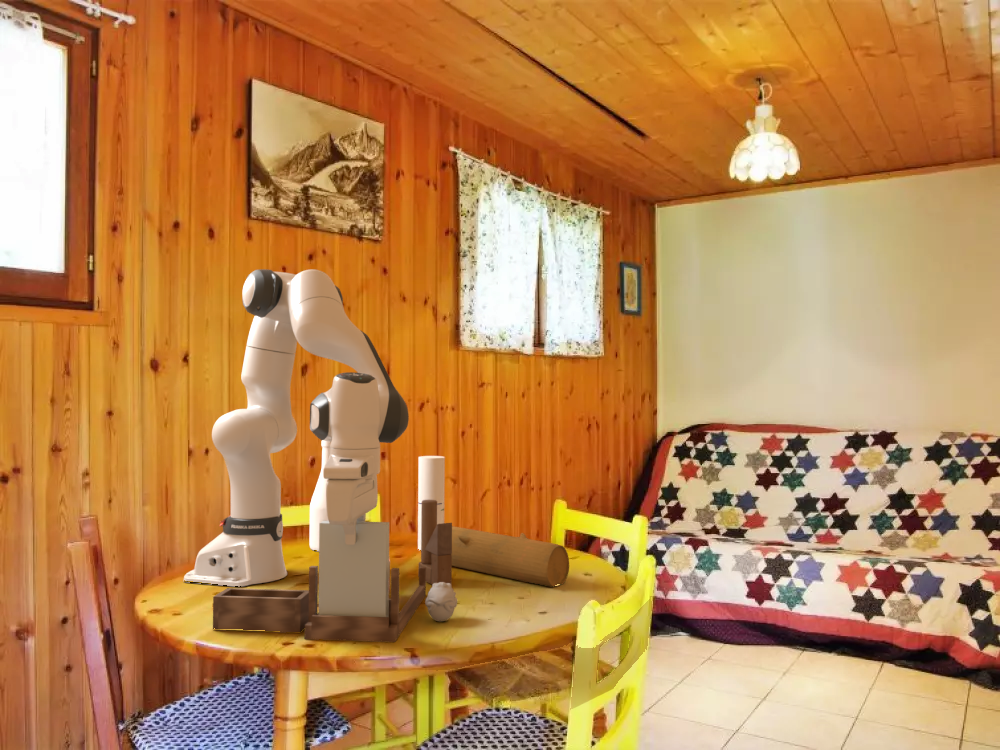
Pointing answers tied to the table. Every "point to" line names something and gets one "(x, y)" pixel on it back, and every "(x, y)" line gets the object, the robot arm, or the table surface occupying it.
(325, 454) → the wine bottle
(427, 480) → the cylindrical container
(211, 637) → the table surface
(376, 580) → the sheet
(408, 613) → the rack
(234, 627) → the holder
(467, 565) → the log
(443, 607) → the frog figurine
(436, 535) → the brown wedge with rod
